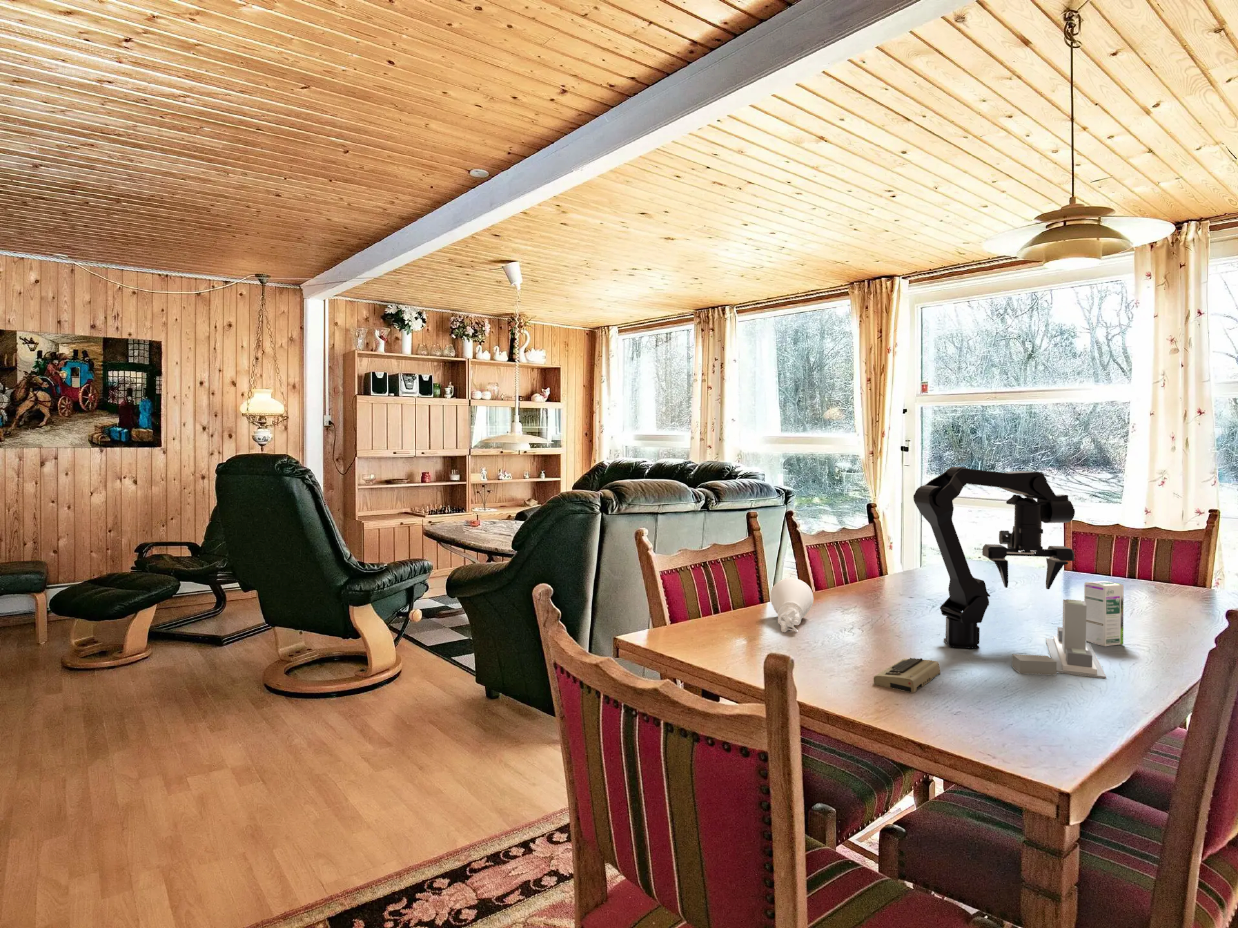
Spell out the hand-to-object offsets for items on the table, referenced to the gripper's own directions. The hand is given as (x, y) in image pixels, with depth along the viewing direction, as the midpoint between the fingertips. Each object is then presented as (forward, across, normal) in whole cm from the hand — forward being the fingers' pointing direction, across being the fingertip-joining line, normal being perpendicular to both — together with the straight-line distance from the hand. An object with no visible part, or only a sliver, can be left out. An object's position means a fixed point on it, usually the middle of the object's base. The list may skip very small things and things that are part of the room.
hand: (1026, 588), depth 177 cm
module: (+12, -6, +12) cm, 18 cm away
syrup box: (+13, -18, -3) cm, 23 cm away
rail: (+13, -6, +12) cm, 19 cm away
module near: (+12, -3, +22) cm, 25 cm away
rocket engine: (+13, +56, -6) cm, 58 cm away
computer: (+14, +33, +35) cm, 50 cm away
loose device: (+13, +6, +24) cm, 28 cm away
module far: (+12, -9, +2) cm, 15 cm away
